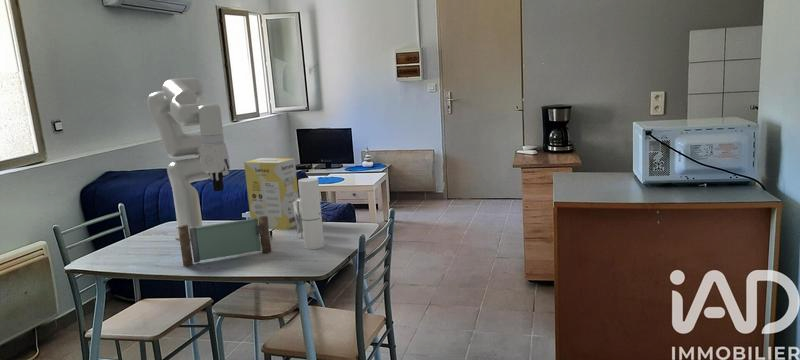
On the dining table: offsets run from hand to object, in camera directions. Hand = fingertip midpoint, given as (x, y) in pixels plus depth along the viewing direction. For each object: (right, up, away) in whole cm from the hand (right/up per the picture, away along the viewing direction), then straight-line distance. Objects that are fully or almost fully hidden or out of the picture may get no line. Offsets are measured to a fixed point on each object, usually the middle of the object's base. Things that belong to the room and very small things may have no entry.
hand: (218, 190), depth 206 cm
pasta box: (+12, -16, +40) cm, 44 cm away
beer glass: (+28, -19, +19) cm, 39 cm away
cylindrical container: (+33, -21, +6) cm, 40 cm away
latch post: (+17, -22, +3) cm, 28 cm away
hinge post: (-9, -26, -6) cm, 28 cm away
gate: (+4, -23, -2) cm, 24 cm away
